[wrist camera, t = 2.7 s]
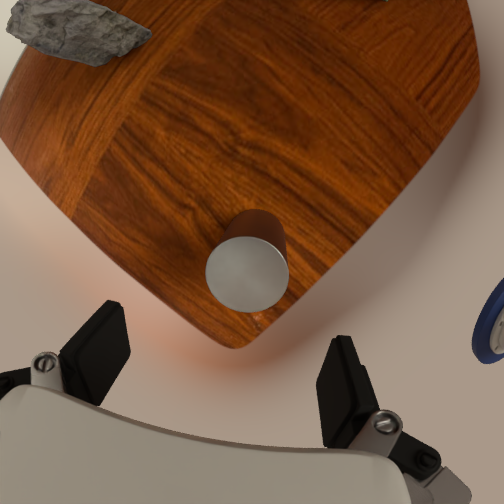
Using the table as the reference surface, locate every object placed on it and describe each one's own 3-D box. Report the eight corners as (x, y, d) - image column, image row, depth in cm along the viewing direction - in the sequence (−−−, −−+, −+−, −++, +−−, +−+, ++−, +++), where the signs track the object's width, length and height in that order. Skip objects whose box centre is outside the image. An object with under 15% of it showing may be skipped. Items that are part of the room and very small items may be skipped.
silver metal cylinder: (288, 213, 25) (295, 242, 17) (280, 267, 27) (281, 317, 19) (230, 205, 26) (207, 231, 17) (225, 260, 28) (203, 306, 19)
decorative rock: (165, 41, 20) (81, -25, 6) (124, 89, 22) (17, 61, 8) (91, 0, 17) (19, -37, 3) (59, 39, 19) (-21, 18, 5)
